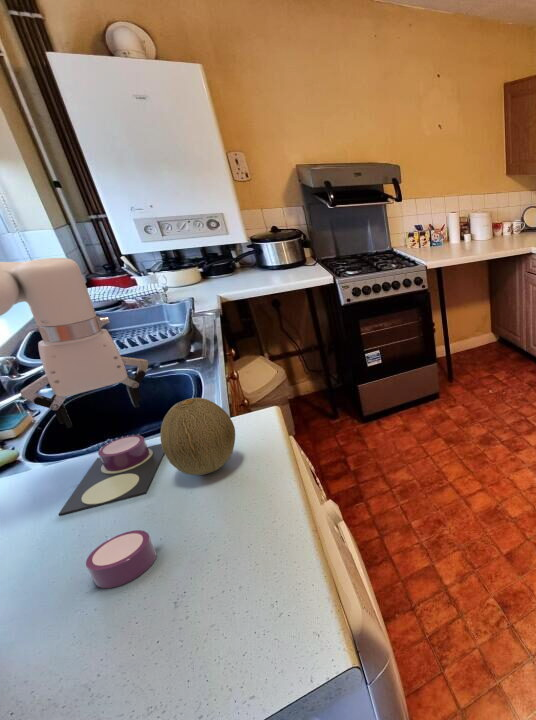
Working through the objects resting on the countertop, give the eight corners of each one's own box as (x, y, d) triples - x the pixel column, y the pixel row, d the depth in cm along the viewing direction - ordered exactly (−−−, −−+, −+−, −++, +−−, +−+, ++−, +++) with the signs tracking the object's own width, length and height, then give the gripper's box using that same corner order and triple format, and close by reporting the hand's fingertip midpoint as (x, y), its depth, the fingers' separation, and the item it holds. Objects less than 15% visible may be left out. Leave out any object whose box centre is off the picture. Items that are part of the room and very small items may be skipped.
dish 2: (86, 596, 60) (76, 577, 58) (105, 557, 65) (96, 539, 64) (149, 576, 62) (140, 558, 61) (162, 541, 68) (154, 523, 67)
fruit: (255, 450, 90) (236, 386, 84) (218, 488, 79) (194, 417, 74) (201, 450, 90) (179, 386, 85) (158, 487, 80) (130, 417, 74)
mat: (59, 515, 74) (57, 513, 74) (97, 459, 88) (96, 457, 88) (146, 493, 78) (145, 491, 78) (169, 443, 93) (168, 441, 93)
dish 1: (98, 475, 83) (91, 460, 81) (112, 455, 89) (105, 440, 87) (144, 465, 85) (138, 449, 84) (154, 445, 91) (148, 431, 90)
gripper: (129, 314, 85) (155, 392, 91) (-3, 338, 73) (37, 426, 79) (138, 322, 80) (164, 403, 86) (-2, 349, 68) (40, 442, 74)
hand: (103, 414), depth 83 cm, fingers open, 9 cm apart
